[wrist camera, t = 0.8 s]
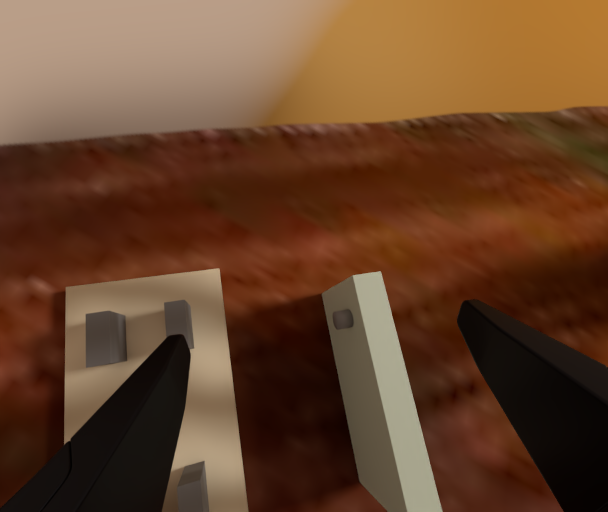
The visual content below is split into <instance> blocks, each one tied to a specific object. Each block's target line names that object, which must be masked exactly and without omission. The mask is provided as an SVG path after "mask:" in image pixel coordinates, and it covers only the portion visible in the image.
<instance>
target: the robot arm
mask: <svg viewBox="0 0 608 512" xmlns="http://www.w3.org/2000/svg"><path fill="white" fill-rule="evenodd" d="M457 323H458V327H459V329H460V331H461V333H462V335H463V337H464V339H465V342H466V344H467V346H468V348H469V350H470V352H471V354H472V357H473V359H474V361H475V363H476V365H477V367H478V369H479V370H480V372H481V374H482V376H483V377H484V379H485V381H486V382H487V384H488V386H489V387H490V389H491V391H492V392H493V394H494V396H495V397H496V399H497V401H498V402H499V404H500V406H501V407H502V409H503V411H504V412H505V414H506V416H507V417H508V419H509V421H510V422H511V424H512V426H513V427H514V429H515V431H516V432H517V434H518V436H519V437H520V439H521V441H522V442H523V444H524V446H525V448H526V449H527V451H528V453H529V454H530V456H531V458H532V459H533V461H534V463H535V464H536V466H537V468H538V469H539V471H540V473H541V474H542V476H543V478H544V479H545V481H546V483H547V484H548V486H549V488H550V489H551V491H552V493H553V494H554V496H555V498H556V499H557V501H558V503H559V504H560V506H561V508H562V509H563V511H564V512H608V367H606V366H605V365H603V364H601V363H600V362H598V361H596V360H594V359H592V358H590V357H588V356H586V355H584V354H582V353H580V352H578V351H576V350H574V349H572V348H570V347H568V346H567V345H565V344H563V343H561V342H559V341H557V340H555V339H553V338H551V337H549V336H547V335H545V334H543V333H541V332H539V331H537V330H535V329H534V328H532V327H530V326H528V325H526V324H524V323H522V322H520V321H518V320H516V319H514V318H512V317H510V316H508V315H506V314H504V313H502V312H501V311H499V310H497V309H495V308H493V307H491V306H489V305H487V304H485V303H483V302H481V301H479V300H476V299H473V300H465V301H463V302H462V304H461V308H460V311H459V314H458V318H457ZM190 362H191V353H190V349H189V347H188V344H187V341H186V339H185V336H184V335H183V334H174V335H169V336H168V337H167V338H166V339H165V340H164V341H163V342H162V343H161V344H160V345H159V346H158V347H157V348H156V349H155V350H154V351H153V352H152V353H151V354H150V355H149V356H148V358H147V359H146V360H145V361H144V362H143V363H142V364H141V365H140V366H139V367H138V368H137V369H136V370H135V371H134V372H133V373H132V374H131V375H130V376H129V377H128V379H127V380H126V381H125V382H124V383H123V384H122V385H121V386H120V387H119V388H118V389H117V390H116V391H115V392H114V393H113V394H112V395H111V396H110V397H109V398H108V400H107V401H106V402H105V403H104V404H103V405H102V406H101V407H100V408H99V409H98V410H97V411H96V412H95V413H94V414H93V415H92V416H91V417H90V418H89V419H88V421H87V422H86V423H85V424H84V425H83V426H82V427H81V428H80V429H79V430H78V431H77V432H76V433H75V434H74V435H73V436H72V437H71V439H70V441H68V442H66V443H65V445H64V446H63V447H62V448H61V449H60V450H59V451H58V452H57V453H56V454H55V455H54V456H53V457H52V458H51V459H50V460H49V461H48V462H47V463H46V464H45V465H44V466H43V467H42V468H41V469H40V470H39V471H38V472H37V473H36V474H35V475H34V476H33V477H32V478H31V479H30V480H29V481H28V482H27V483H26V484H25V485H24V486H23V487H22V488H21V489H20V490H19V491H18V492H17V493H16V494H15V495H14V496H13V497H12V498H10V499H9V500H8V501H7V502H6V503H5V504H4V505H3V506H2V507H1V508H0V512H162V509H163V504H164V500H165V495H166V491H167V487H168V482H169V478H170V473H171V469H172V464H173V460H174V456H175V451H176V447H177V442H178V438H179V433H180V429H181V425H182V420H183V416H184V411H185V406H186V398H187V389H188V380H189V371H190Z"/></svg>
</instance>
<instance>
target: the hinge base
mask: <svg viewBox="0 0 608 512" xmlns="http://www.w3.org/2000/svg"><path fill="white" fill-rule="evenodd" d="M174 334H183V335H184V336H185V339H186V341H187V344H188V347H189V349H190V353H191V362H190V371H189V380H188V389H187V398H186V406H185V411H184V416H183V420H182V425H181V429H180V433H179V438H178V442H177V447H176V451H175V456H174V460H173V464H172V469H171V473H170V478H169V482H168V487H167V491H166V495H165V500H164V504H163V509H162V512H248V504H247V495H246V487H245V479H244V470H243V462H242V454H241V445H240V437H239V429H238V420H237V412H236V404H235V395H234V387H233V379H232V370H231V362H230V353H229V345H228V337H227V328H226V320H225V312H224V303H223V295H222V287H221V278H220V270H219V268H218V269H210V270H202V271H194V272H186V273H178V274H169V275H161V276H153V277H145V278H137V279H129V280H120V281H112V282H104V283H96V284H88V285H80V286H71V287H66V320H65V413H64V445H65V443H66V442H68V441H70V439H71V437H72V436H73V435H74V434H75V433H76V432H77V431H78V430H79V429H80V428H81V427H82V426H83V425H84V424H85V423H86V422H87V421H88V419H89V418H90V417H91V416H92V415H93V414H94V413H95V412H96V411H97V410H98V409H99V408H100V407H101V406H102V405H103V404H104V403H105V402H106V401H107V400H108V398H109V397H110V396H111V395H112V394H113V393H114V392H115V391H116V390H117V389H118V388H119V387H120V386H121V385H122V384H123V383H124V382H125V381H126V380H127V379H128V377H129V376H130V375H131V374H132V373H133V372H134V371H135V370H136V369H137V368H138V367H139V366H140V365H141V364H142V363H143V362H144V361H145V360H146V359H147V358H148V356H149V355H150V354H151V353H152V352H153V351H154V350H155V349H156V348H157V347H158V346H159V345H160V344H161V343H162V342H163V341H164V340H165V339H166V338H167V337H168V336H169V335H174Z"/></svg>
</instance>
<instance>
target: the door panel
mask: <svg viewBox="0 0 608 512" xmlns="http://www.w3.org/2000/svg"><path fill="white" fill-rule="evenodd" d="M322 298H323V303H324V308H325V313H326V318H327V323H328V328H329V333H330V338H331V343H332V348H333V353H334V358H335V363H336V368H337V372H338V377H339V382H340V387H341V392H342V397H343V402H344V407H345V412H346V417H347V422H348V427H349V432H350V437H351V442H352V447H353V452H354V456H355V461H356V466H357V471H358V476H359V481H360V483H361V484H362V485H363V486H364V487H365V488H366V489H367V490H368V491H369V492H370V493H371V494H372V495H373V496H374V497H375V499H376V500H377V501H378V502H379V503H380V504H381V505H382V506H383V507H384V508H385V509H386V510H387V511H388V512H442V509H441V505H440V501H439V497H438V493H437V489H436V485H435V481H434V477H433V473H432V470H431V466H430V462H429V458H428V454H427V450H426V446H425V442H424V438H423V434H422V430H421V427H420V423H419V419H418V415H417V411H416V407H415V403H414V399H413V395H412V391H411V387H410V384H409V380H408V376H407V372H406V368H405V364H404V360H403V356H402V352H401V348H400V344H399V341H398V337H397V333H396V329H395V325H394V321H393V317H392V313H391V309H390V305H389V301H388V298H387V294H386V290H385V286H384V282H383V278H382V274H381V271H380V272H373V273H367V274H360V275H353V276H351V277H349V278H348V279H346V280H344V281H342V282H341V283H339V284H337V285H336V286H334V287H332V288H330V289H329V290H327V291H325V292H324V293H322Z"/></svg>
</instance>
